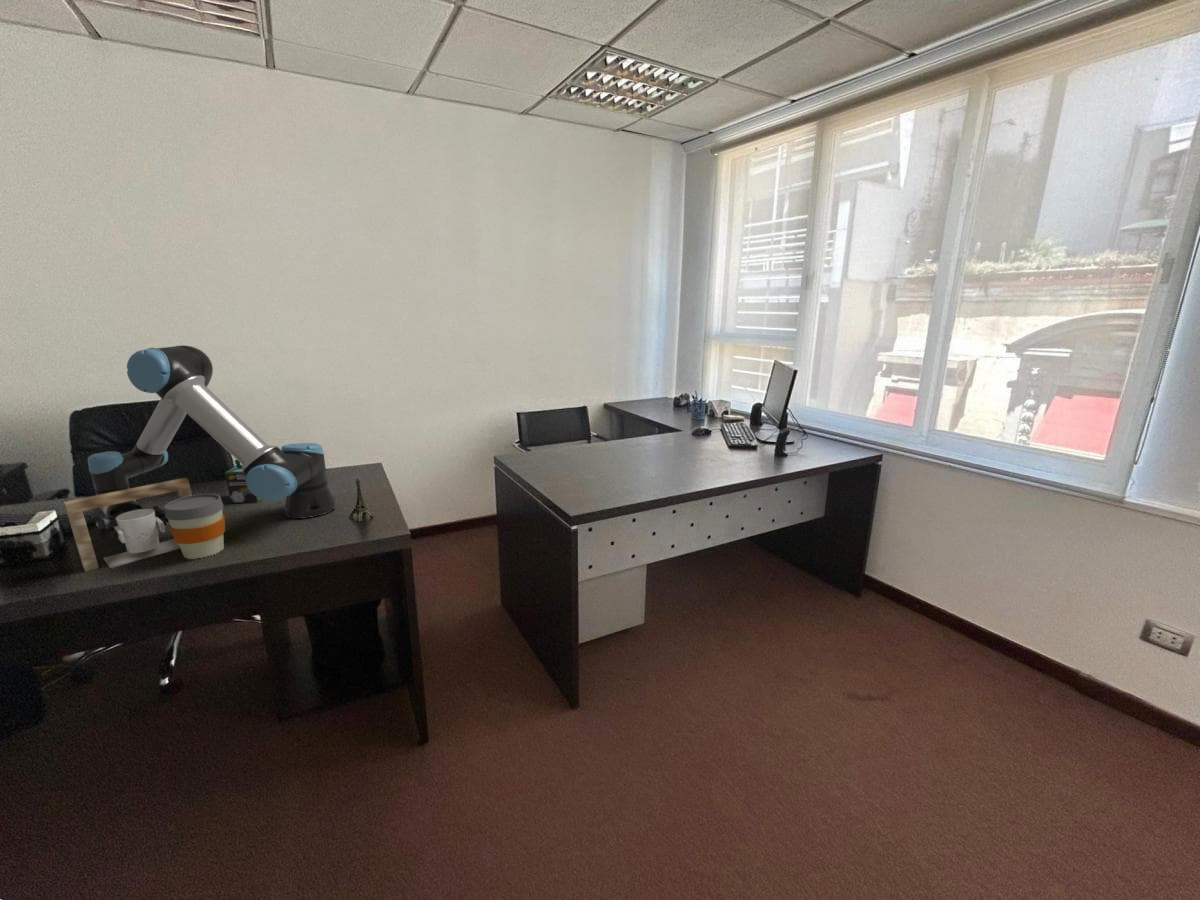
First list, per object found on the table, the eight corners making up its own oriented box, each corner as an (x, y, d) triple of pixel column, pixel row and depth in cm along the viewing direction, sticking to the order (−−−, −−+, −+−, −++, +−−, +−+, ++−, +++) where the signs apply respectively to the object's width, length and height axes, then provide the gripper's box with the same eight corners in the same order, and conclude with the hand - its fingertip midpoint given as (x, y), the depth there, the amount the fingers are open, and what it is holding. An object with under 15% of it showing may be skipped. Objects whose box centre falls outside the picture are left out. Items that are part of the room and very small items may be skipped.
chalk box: (271, 493, 183) (264, 454, 179) (258, 502, 175) (250, 462, 171) (244, 494, 182) (236, 455, 178) (229, 503, 174) (221, 462, 169)
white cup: (168, 544, 141) (160, 512, 138) (133, 556, 134) (124, 522, 131) (153, 539, 144) (145, 506, 141) (118, 550, 137) (109, 516, 134)
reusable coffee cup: (168, 566, 132) (155, 513, 128) (183, 545, 143) (172, 496, 139) (225, 557, 137) (214, 506, 133) (236, 538, 148) (227, 491, 144)
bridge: (195, 533, 151) (182, 475, 145) (204, 541, 146) (191, 481, 141) (81, 565, 132) (62, 499, 127) (87, 574, 127) (67, 507, 122)
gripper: (170, 512, 156) (193, 532, 143) (78, 534, 141) (94, 559, 127) (165, 489, 154) (187, 508, 141) (71, 509, 139) (86, 532, 125)
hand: (143, 532), depth 134 cm, fingers closed on white cup, 7 cm apart
